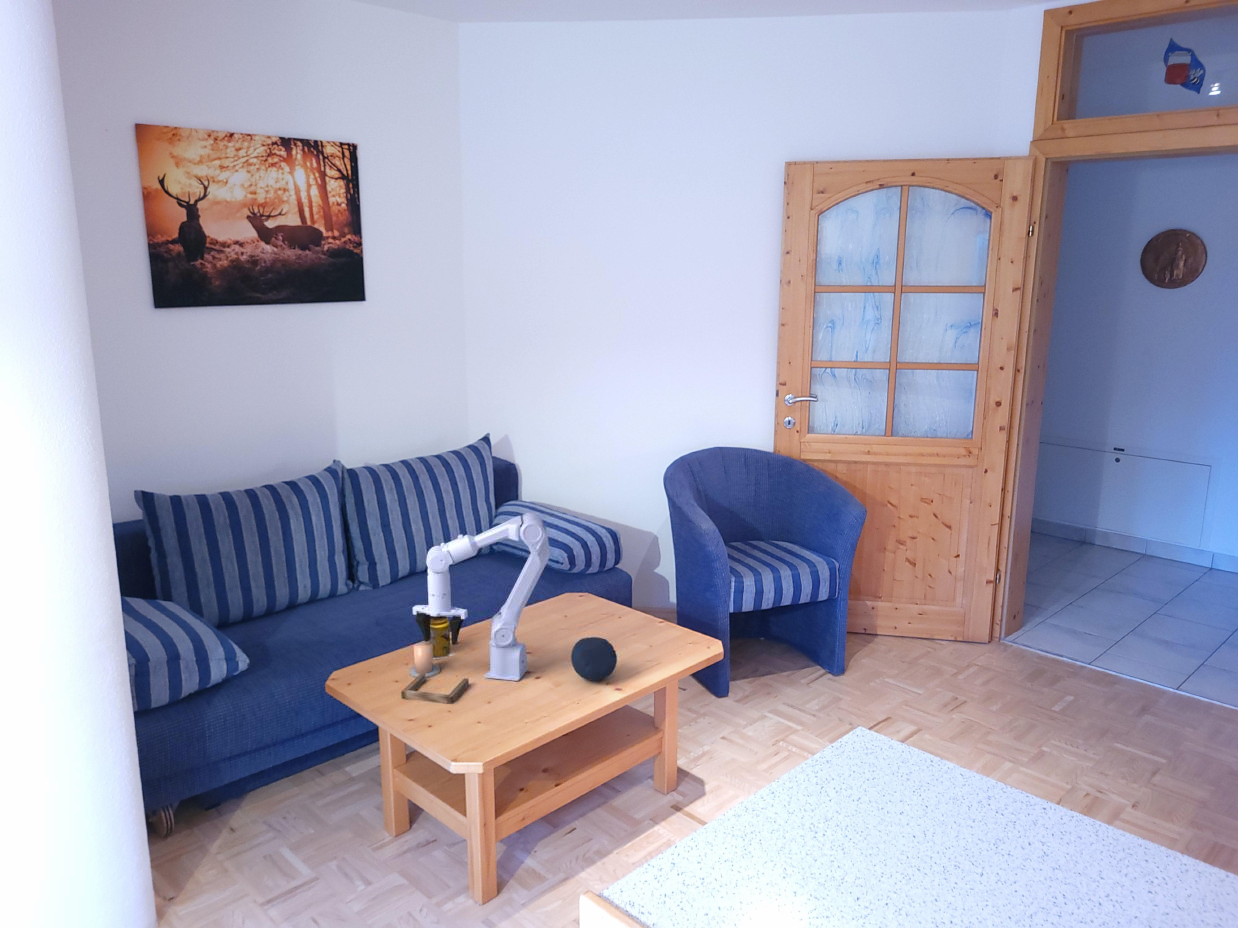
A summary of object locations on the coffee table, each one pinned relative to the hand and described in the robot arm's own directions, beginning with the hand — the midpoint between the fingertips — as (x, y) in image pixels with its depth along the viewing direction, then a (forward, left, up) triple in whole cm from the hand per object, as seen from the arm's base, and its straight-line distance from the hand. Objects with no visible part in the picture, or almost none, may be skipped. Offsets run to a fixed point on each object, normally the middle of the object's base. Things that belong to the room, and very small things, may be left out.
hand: (441, 641), depth 245 cm
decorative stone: (-39, -9, -10) cm, 41 cm away
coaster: (+6, -2, -10) cm, 12 cm away
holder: (-2, +8, -10) cm, 13 cm away
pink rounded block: (+6, -3, -9) cm, 11 cm away
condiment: (+8, -14, -10) cm, 19 cm away
